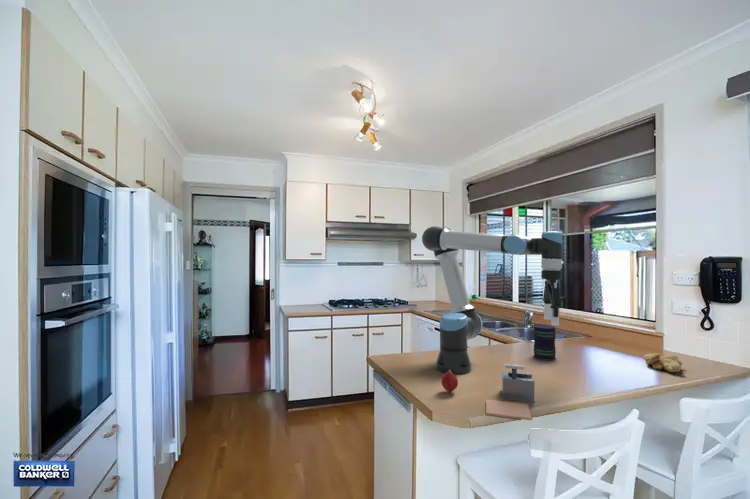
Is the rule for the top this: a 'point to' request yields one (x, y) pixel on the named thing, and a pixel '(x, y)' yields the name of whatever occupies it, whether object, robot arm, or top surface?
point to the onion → (449, 381)
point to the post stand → (514, 369)
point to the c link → (518, 386)
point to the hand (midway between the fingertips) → (551, 322)
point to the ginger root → (664, 362)
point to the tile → (508, 409)
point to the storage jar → (544, 342)
